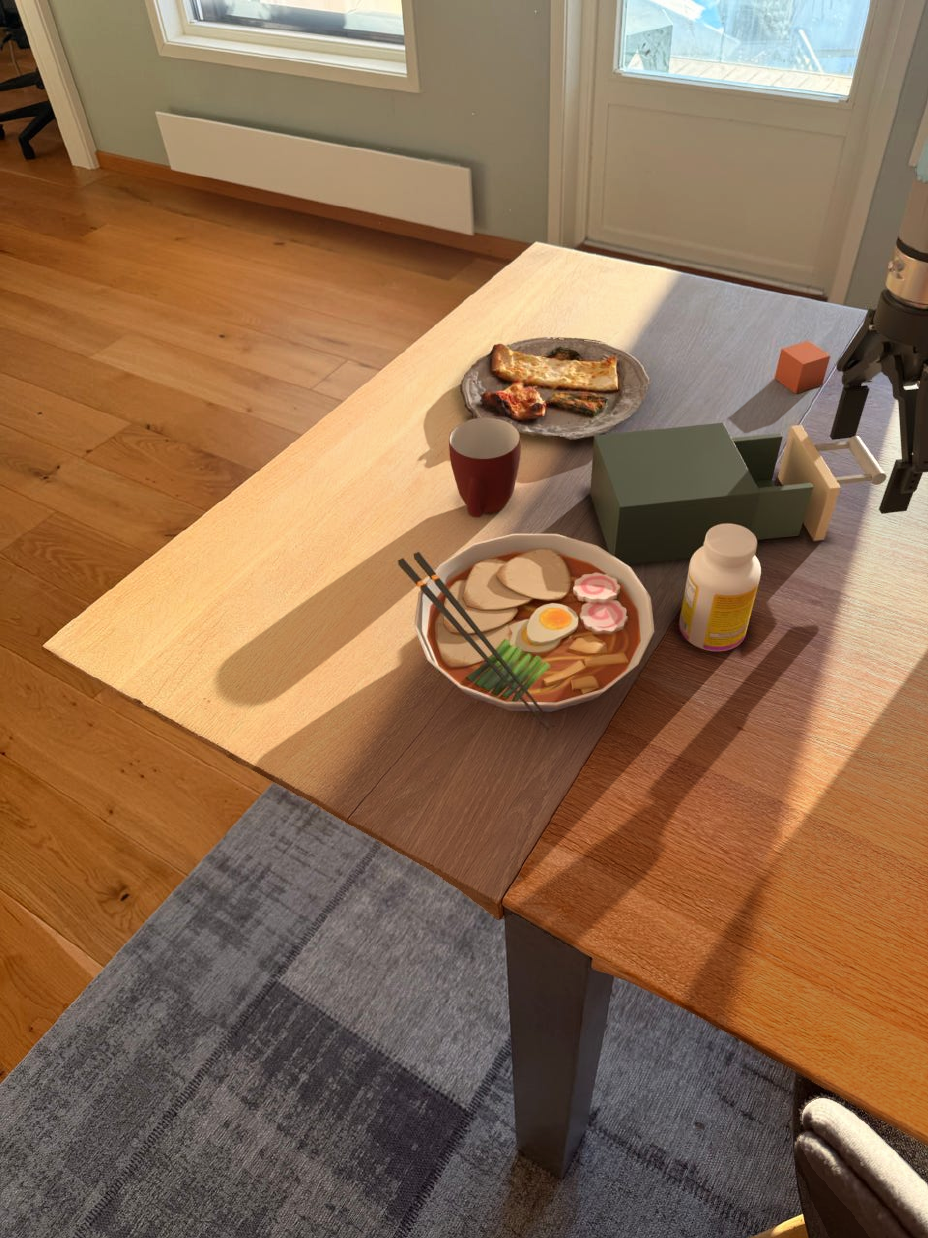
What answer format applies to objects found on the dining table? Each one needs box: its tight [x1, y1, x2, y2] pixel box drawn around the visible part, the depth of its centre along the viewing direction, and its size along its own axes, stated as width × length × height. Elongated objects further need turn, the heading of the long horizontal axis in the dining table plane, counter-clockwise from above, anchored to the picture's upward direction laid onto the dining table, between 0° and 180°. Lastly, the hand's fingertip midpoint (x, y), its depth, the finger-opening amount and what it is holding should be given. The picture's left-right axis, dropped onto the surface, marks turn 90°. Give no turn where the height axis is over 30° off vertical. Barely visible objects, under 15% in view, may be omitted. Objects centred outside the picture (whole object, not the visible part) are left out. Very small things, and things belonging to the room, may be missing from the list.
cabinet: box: [589, 422, 760, 565], centre depth 101 cm, size 15×13×9 cm
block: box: [774, 340, 831, 395], centre depth 122 cm, size 4×4×4 cm
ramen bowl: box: [397, 533, 655, 730], centre depth 88 cm, size 25×23×8 cm
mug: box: [448, 417, 522, 518], centre depth 104 cm, size 10×8×10 cm
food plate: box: [459, 336, 650, 441], centre depth 123 cm, size 25×23×4 cm
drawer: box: [731, 424, 887, 542], centre depth 102 cm, size 20×12×7 cm, turn 96°
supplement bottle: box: [678, 524, 762, 652], centre depth 88 cm, size 7×7×13 cm
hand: (866, 472), depth 101 cm, fingers open, 13 cm apart
